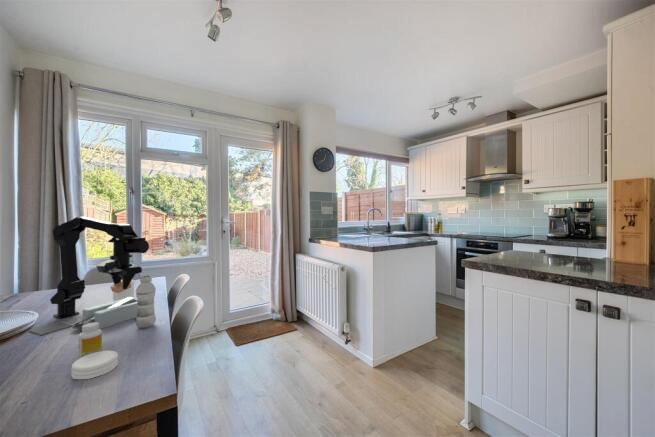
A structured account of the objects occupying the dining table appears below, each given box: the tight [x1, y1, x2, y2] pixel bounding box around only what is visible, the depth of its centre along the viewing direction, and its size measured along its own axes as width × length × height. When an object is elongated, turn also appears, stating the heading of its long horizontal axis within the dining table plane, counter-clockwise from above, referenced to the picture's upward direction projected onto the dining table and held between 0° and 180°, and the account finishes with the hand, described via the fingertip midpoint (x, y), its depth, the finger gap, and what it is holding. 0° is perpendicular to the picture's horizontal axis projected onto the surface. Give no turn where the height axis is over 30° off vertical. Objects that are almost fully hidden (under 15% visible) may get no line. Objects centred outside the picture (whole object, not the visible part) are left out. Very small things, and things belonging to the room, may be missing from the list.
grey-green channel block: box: [81, 297, 138, 330], centre depth 113 cm, size 18×12×6 cm, turn 157°
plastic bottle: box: [135, 275, 157, 329], centre depth 105 cm, size 6×7×20 cm
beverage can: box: [112, 278, 135, 302], centre depth 132 cm, size 8×8×12 cm
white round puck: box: [70, 350, 119, 380], centre depth 76 cm, size 10×10×4 cm
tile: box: [110, 282, 131, 293], centre depth 116 cm, size 5×5×2 cm
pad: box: [28, 321, 73, 337], centre depth 103 cm, size 9×9×1 cm
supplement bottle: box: [78, 322, 103, 359], centre depth 84 cm, size 5×5×10 cm
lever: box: [71, 297, 135, 331], centre depth 110 cm, size 21×4×1 cm, turn 157°
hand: (121, 288), depth 116 cm, fingers closed on tile, 5 cm apart
